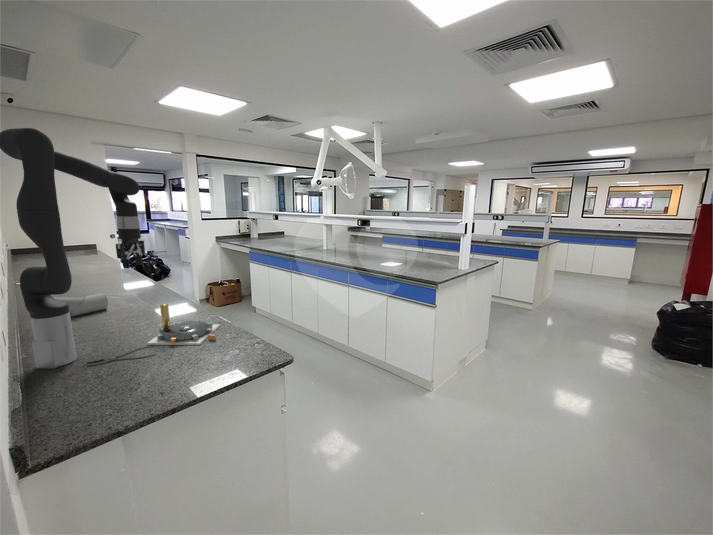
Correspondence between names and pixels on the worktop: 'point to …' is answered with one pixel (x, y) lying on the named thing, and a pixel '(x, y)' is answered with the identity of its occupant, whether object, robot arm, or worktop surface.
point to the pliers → (117, 358)
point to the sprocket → (181, 328)
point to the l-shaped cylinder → (85, 304)
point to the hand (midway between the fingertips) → (133, 266)
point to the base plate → (187, 342)
